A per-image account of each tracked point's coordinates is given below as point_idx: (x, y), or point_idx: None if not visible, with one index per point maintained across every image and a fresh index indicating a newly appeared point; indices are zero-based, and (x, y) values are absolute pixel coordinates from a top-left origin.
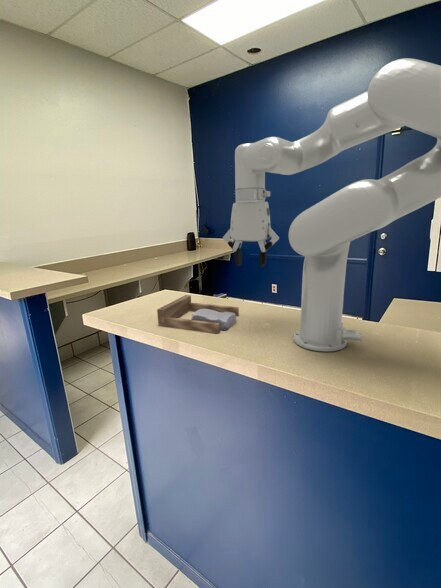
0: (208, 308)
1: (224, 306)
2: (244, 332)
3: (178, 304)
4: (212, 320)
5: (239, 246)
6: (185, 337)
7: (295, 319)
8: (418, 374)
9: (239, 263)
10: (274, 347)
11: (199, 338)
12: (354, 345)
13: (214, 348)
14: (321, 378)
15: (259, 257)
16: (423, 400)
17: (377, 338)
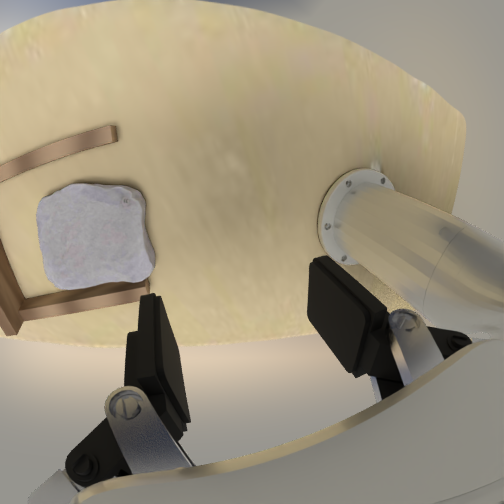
0: (24, 171)
1: (63, 147)
2: (202, 247)
3: None
4: (115, 280)
5: (159, 430)
6: (108, 330)
7: (296, 95)
8: None
9: (174, 343)
10: (290, 281)
11: (134, 322)
12: None
13: (191, 338)
14: None
15: (336, 352)
16: None
17: (425, 163)
